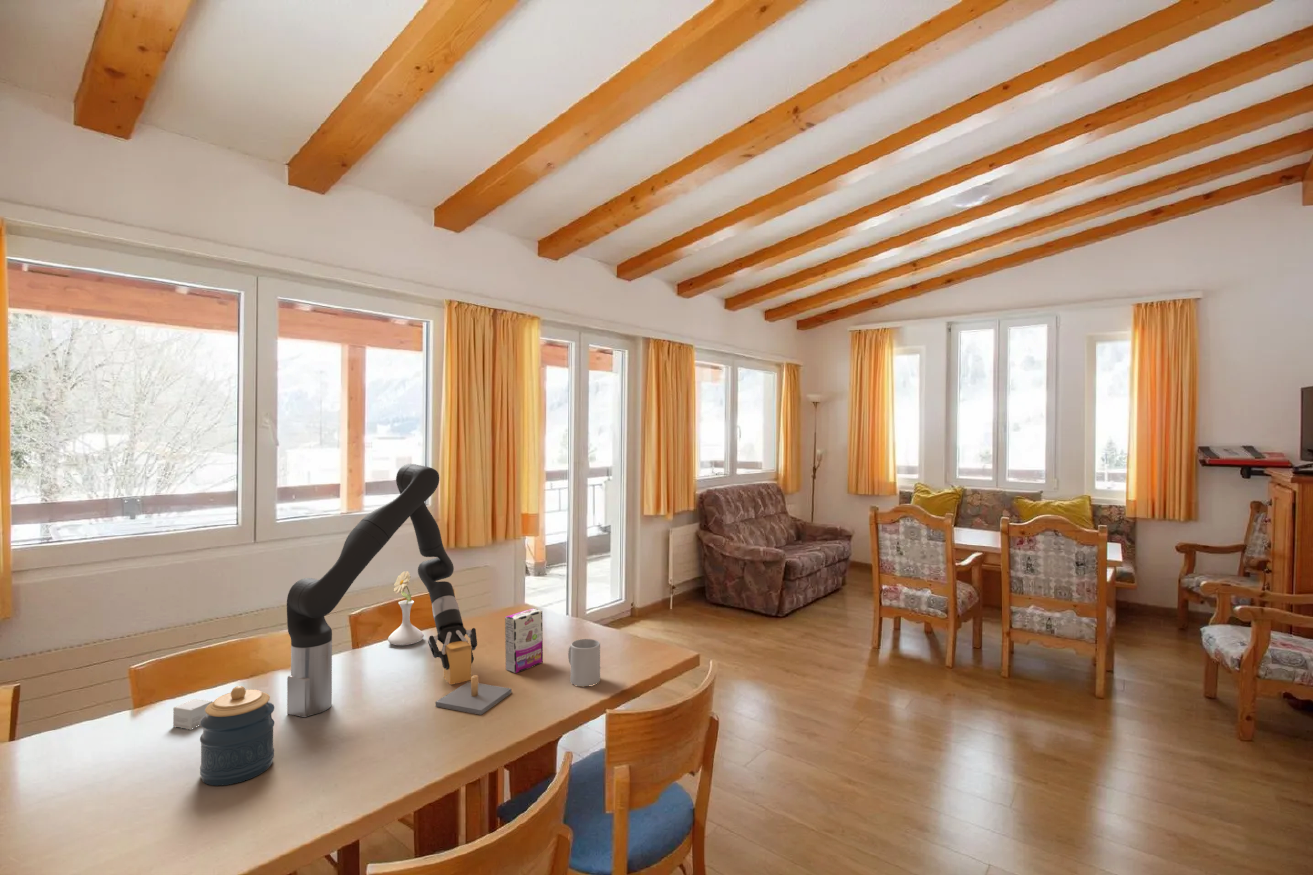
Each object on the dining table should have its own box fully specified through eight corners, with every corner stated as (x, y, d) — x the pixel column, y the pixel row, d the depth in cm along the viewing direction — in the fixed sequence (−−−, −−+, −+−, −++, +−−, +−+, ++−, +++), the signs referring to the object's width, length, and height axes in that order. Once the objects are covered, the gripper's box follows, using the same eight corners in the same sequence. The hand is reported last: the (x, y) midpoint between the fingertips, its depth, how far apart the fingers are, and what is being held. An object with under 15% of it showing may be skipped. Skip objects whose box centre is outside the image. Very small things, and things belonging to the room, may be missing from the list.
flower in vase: (387, 639, 212) (387, 567, 211) (422, 635, 216) (423, 564, 216) (388, 652, 200) (388, 575, 199) (425, 647, 204) (426, 572, 204)
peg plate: (481, 714, 156) (481, 690, 156) (435, 706, 161) (435, 682, 161) (511, 692, 169) (511, 670, 169) (468, 685, 174) (468, 663, 174)
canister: (261, 747, 139) (261, 669, 139) (283, 767, 131) (284, 685, 131) (191, 771, 129) (191, 687, 129) (210, 795, 121) (211, 705, 121)
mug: (606, 681, 177) (606, 643, 177) (582, 690, 172) (582, 650, 171) (580, 669, 186) (581, 633, 186) (557, 677, 180) (557, 640, 180)
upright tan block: (471, 679, 178) (471, 645, 178) (450, 684, 174) (450, 649, 174) (464, 673, 183) (464, 639, 183) (443, 677, 179) (444, 643, 179)
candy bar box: (532, 659, 194) (532, 607, 194) (543, 662, 191) (543, 610, 191) (504, 669, 186) (504, 615, 185) (514, 674, 183) (515, 618, 182)
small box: (213, 720, 152) (213, 700, 152) (190, 730, 147) (190, 710, 147) (195, 717, 154) (195, 697, 154) (172, 727, 148) (172, 707, 148)
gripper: (425, 612, 180) (436, 665, 171) (473, 604, 189) (487, 654, 179) (420, 625, 185) (431, 677, 175) (467, 617, 193) (480, 666, 184)
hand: (459, 665), depth 177 cm, fingers closed on upright tan block, 6 cm apart
